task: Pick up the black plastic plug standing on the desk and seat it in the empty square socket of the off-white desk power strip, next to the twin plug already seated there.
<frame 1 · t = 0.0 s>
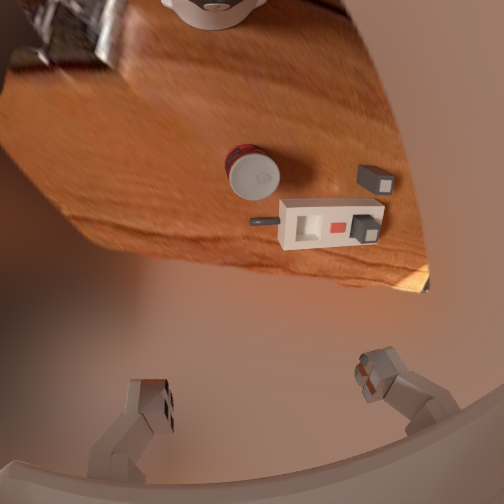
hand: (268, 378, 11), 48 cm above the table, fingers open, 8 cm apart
canned food: (245, 162, 55), on the table
pdu strip: (327, 217, 63), on the table
plug: (365, 174, 59), on the table
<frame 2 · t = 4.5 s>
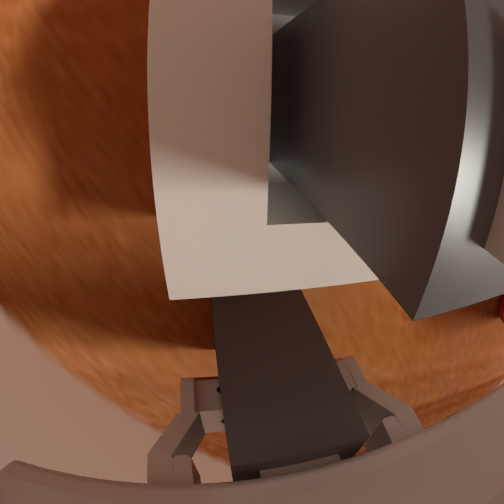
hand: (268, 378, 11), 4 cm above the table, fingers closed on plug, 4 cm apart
pdu strip: (431, 120, 11), on the table
plug: (253, 319, 14), on the table, touching gripper
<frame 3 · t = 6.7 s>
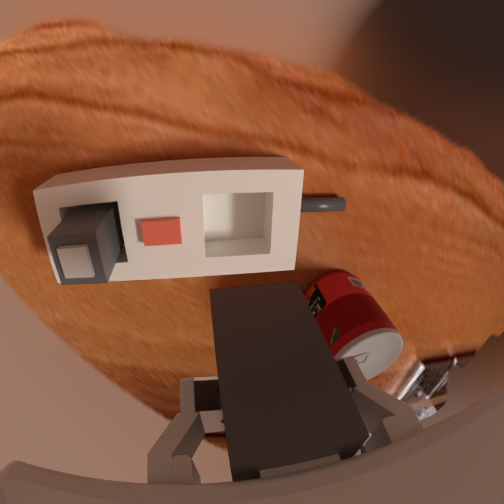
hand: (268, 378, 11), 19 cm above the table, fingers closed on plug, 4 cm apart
canned food: (330, 294, 36), on the table
pdu strip: (168, 207, 27), on the table
plug: (253, 318, 14), point 16 cm above the table, touching gripper
when the fingers open (6 cm above the table, at t = 9.0 s): plug stays where it is, resting on pdu strip.
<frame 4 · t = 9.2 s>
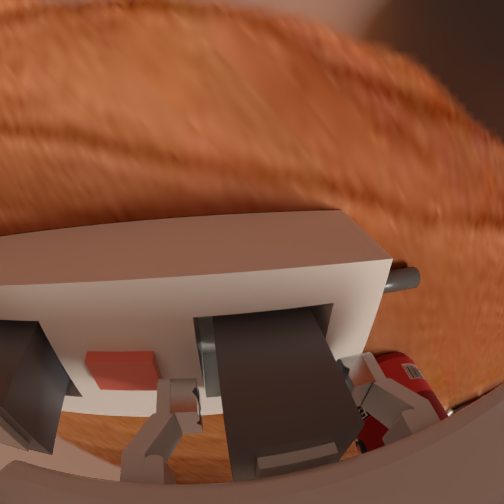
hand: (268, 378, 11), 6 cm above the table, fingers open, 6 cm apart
canned food: (373, 376, 24), on the table
pdu strip: (138, 296, 16), on the table
plug: (252, 313, 15), point 2 cm above the table, touching pdu strip
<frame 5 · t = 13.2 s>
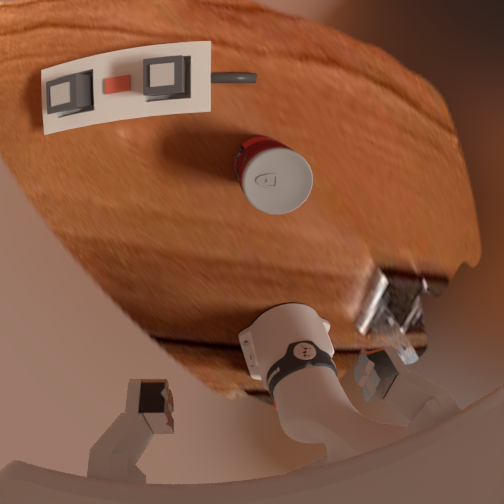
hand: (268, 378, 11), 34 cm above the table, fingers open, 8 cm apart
canned food: (259, 161, 41), on the table
pdu strip: (128, 86, 32), on the table
plug: (170, 79, 32), point 2 cm above the table, touching pdu strip
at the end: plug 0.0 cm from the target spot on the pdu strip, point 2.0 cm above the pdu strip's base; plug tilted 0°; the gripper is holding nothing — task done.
